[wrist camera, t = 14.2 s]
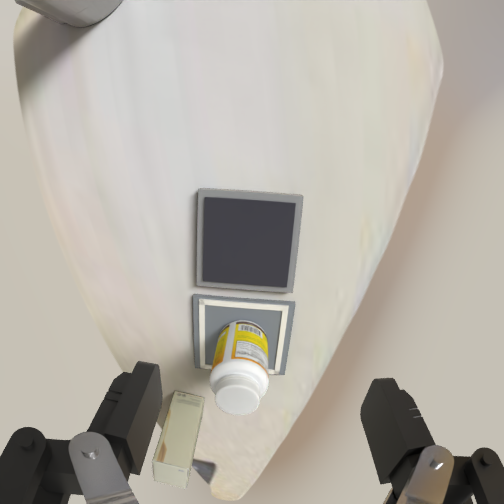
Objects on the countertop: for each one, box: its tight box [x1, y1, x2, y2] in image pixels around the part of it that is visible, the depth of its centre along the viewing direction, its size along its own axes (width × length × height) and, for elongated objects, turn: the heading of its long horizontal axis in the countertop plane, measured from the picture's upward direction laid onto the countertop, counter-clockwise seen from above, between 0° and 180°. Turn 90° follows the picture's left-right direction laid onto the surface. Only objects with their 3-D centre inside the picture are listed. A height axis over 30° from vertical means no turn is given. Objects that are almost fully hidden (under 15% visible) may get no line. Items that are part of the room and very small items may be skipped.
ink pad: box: [197, 188, 303, 293], centre depth 31 cm, size 10×10×1 cm
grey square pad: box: [193, 294, 295, 375], centre depth 35 cm, size 11×10×1 cm
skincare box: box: [152, 391, 204, 489], centre depth 34 cm, size 6×4×12 cm
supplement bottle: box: [210, 320, 269, 415], centre depth 30 cm, size 6×6×10 cm
